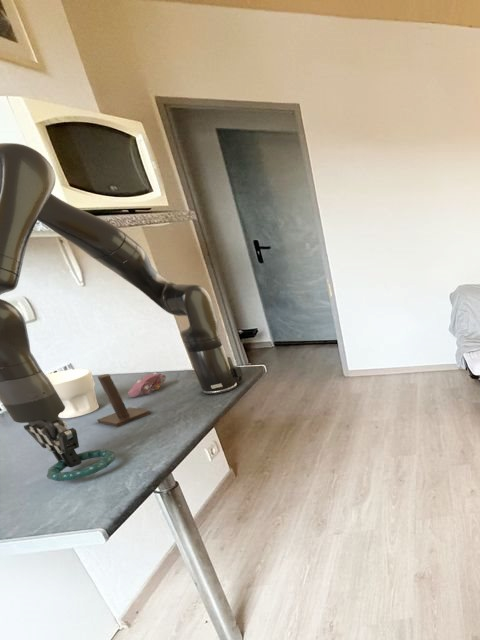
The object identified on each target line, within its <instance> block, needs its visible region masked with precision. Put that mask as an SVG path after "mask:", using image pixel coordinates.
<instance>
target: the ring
mask: <svg viewBox="0 0 480 640" xmlns="http://www.w3.org/2000/svg"><path fill="white" fill-rule="evenodd" d="M77 455H78V457H79V458H80V460H81V462H83V461H86V460H90V459H96V458H101V459H99V460H98V461H97V462H95V463H92V464H90V465H88V466H86V467H82V468H78V469H76V470H72V471H64V470H65V469H67V468H68V467H67V465H66V464H65V462H64V461H63V460H61V461H59V462H58V461H57V462H56V463H54V464H53V465H51V466H50V467H49V468H48V470H47V473H46V478H47V479H49V480H52V481H56V482H65V481H72V480H73V481H75V480H79V479H81V478H85V477H88V476H91V475H93V474H95V473H98V472H99V471H101V470H104V469H106V468H107V467H108V466H109V465H111V464H112V463H114V462H115V460H116V453H115V451H113V450H110V449H105V448H99V449H90V450H86V451H82V452H79V453H77ZM62 471H64V472H62Z"/></svg>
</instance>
